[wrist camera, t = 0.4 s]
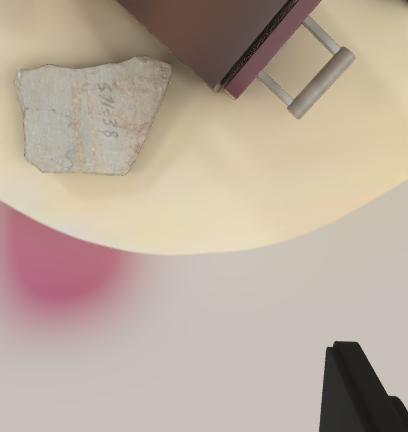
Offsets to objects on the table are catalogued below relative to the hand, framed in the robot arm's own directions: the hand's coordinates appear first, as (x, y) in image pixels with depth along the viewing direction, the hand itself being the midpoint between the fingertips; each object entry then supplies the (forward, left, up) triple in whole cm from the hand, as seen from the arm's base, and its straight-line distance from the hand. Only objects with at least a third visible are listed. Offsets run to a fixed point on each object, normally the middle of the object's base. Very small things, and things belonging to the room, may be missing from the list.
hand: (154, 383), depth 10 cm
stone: (+2, -13, -29) cm, 32 cm away
